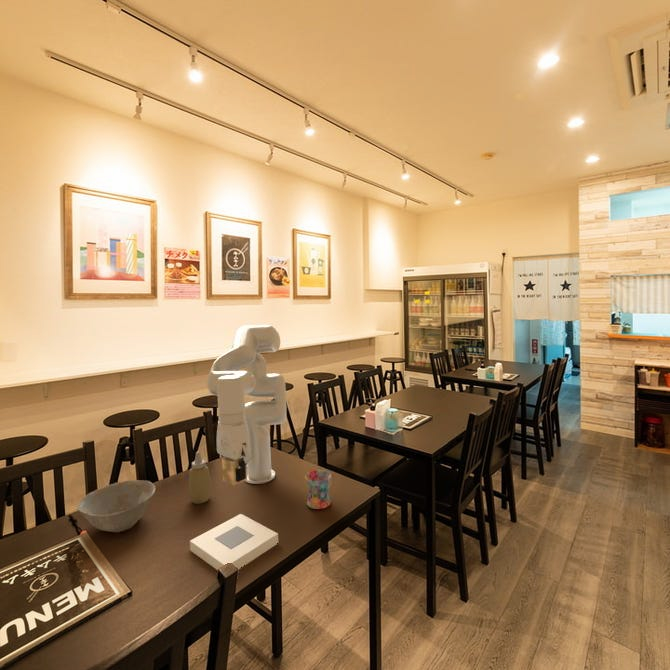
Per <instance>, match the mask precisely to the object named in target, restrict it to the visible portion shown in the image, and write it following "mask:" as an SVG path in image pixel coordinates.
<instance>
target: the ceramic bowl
mask: <svg viewBox="0 0 670 670" xmlns="http://www.w3.org/2000/svg"><path fill="white" fill-rule="evenodd" d="M155 491H156V485H155V484H154V483H152V482H151V481H150V480H144V479H143V480H139V479H138V480H137V479H132V480H131V479H130V480H124V481H118V482H114V483H111V484H109V485H105V486H104V487H103V486H102V487H100V488H97V489H94V491H91V492H88V493H87V494H86V495H85V496H84V497H82V499H80V501H78V504H77V510H78V511H79V513H80V514H81V515H82V516H83V517H84V518H85V520H87V522H88V523H89V524H90V525H92V526H93V527H94V528H95V529H97V530H100V531H103V532H110V533H122V532H124V531H127V530H129V529H131V528H133V527H134V526H135V525H136V524H137V522H139V520H140V519H141V518H142V517H143V516H144V513H145V511H146V510H147V508H148V506H149V503H150V502H151V499H152V498H153V496H154V494H155ZM121 531H122V532H121Z"/></svg>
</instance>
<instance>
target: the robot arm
mask: <svg viewBox="0 0 670 670" xmlns="http://www.w3.org/2000/svg"><path fill="white" fill-rule="evenodd" d="M280 336H281V335H280V334H279V332H278V331H277V329H276V328H275V327H274V326H273V325H270V324H261V325H260V324H259V325H257V324H256V325H251V324H250V325H244V326H241V327H239V329H238V330H237V331H236V334H235V337H234V340H233V345H232V347H231V350H229V351H228V350H227V352H225V353H224V354H222V355H220V356H219V357H218V358H217V359H216V360H214V362H213V363H212V365H211V368H210V370H209V374H208V376H207V381H206V382H207V383H206V386H207V390H208V392H209V393H210V394H211V395H213V396H216V397H217V410H218V411H217V412H218V422H217V430H216V452H217V454H219V456H221V459H222V458H223V457H227V458H230V459H233V460H235V462H236V466H237V468H236V469H235V472H236V482H239V481H242V480H244V479H246V467H245V466H247V480H245V481H244V482H246V483H248V484H252V485H260V484H266V483H269V482H270V481H272V480H274V479H275V477H276V471H275V470H274V469H272V457H271V435H270V431H268V428H267V427H266V425H267V426H268V425H269V426H270V425H271V426H272V425H282V424H284V423H285V422H286V419H287V391H286V380H285V378H284V376H283V374H281V373H268V372H267V361H266V359H265V358H264V356H263V355H262V354H261V353H263V354H264V353H276V352H278V351H279V350H280V347H281V337H280ZM243 368H244V370H240V369H243ZM245 396H248V397H249V398H255V399H258V398H260V399H262V398H273V399H274V400H256V401H255V400H254V401H249V402H247V403H245ZM241 458H242V461H241V462H239V459H241ZM242 482H243V481H242Z"/></svg>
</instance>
